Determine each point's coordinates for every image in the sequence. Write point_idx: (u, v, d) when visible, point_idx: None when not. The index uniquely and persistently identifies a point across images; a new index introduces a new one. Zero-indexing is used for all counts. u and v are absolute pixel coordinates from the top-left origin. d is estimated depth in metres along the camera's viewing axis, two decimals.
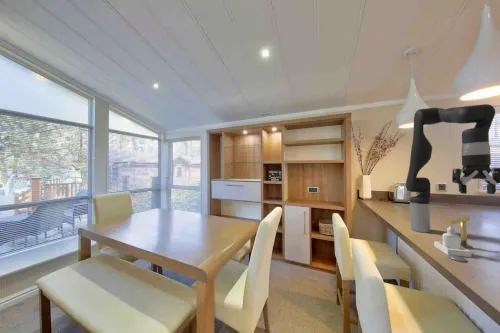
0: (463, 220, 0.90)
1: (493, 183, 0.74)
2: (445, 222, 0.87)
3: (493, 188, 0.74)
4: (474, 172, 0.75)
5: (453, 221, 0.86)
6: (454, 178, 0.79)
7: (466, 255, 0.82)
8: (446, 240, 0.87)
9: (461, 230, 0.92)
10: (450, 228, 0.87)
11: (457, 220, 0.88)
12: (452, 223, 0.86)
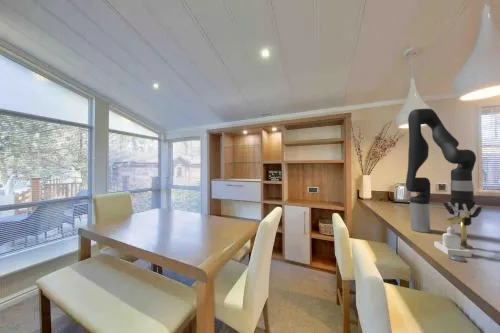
0: (463, 220, 0.90)
1: None
2: (445, 222, 0.87)
3: None
4: None
5: (453, 221, 0.86)
6: None
7: (466, 255, 0.82)
8: (446, 240, 0.87)
9: (461, 230, 0.92)
10: (450, 228, 0.87)
11: (457, 220, 0.88)
12: (452, 223, 0.86)
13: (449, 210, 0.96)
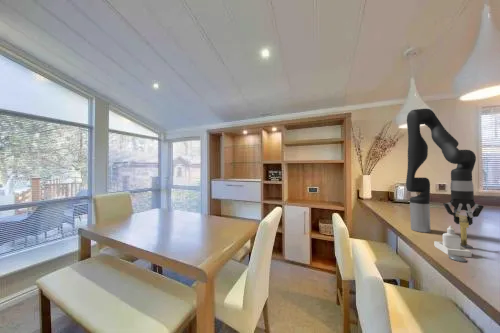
0: None
1: None
2: (461, 225, 0.83)
3: None
4: None
5: None
6: None
7: (466, 255, 0.82)
8: (446, 240, 0.87)
9: (462, 230, 0.92)
10: (450, 228, 0.87)
11: (467, 221, 0.85)
12: (468, 225, 0.82)
13: (450, 211, 0.94)
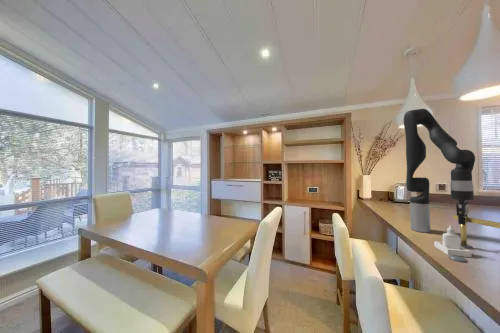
0: None
1: None
2: None
3: (458, 219, 0.91)
4: None
5: None
6: None
7: (466, 255, 0.82)
8: (446, 240, 0.87)
9: (465, 231, 0.91)
10: (450, 228, 0.87)
11: None
12: None
13: (464, 212, 0.88)
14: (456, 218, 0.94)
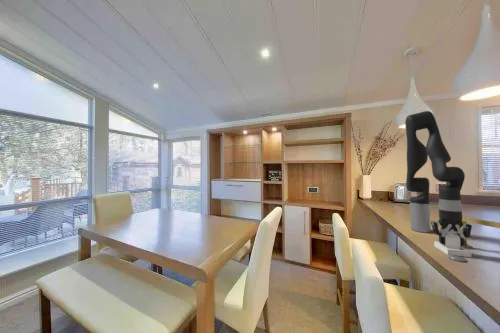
0: None
1: None
2: None
3: None
4: None
5: None
6: None
7: (466, 255, 0.82)
8: (446, 240, 0.87)
9: None
10: None
11: None
12: None
13: (437, 231, 0.88)
14: None
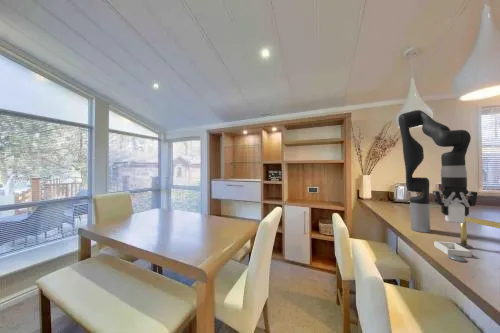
0: None
1: None
2: None
3: None
4: None
5: None
6: None
7: (466, 255, 0.82)
8: (449, 209, 0.80)
9: (465, 231, 0.91)
10: None
11: None
12: None
13: (439, 200, 0.81)
14: None
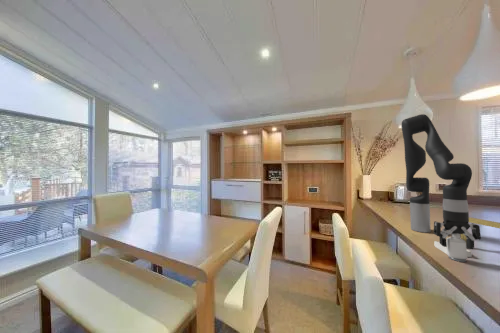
0: None
1: None
2: None
3: None
4: None
5: None
6: None
7: None
8: (450, 245, 0.80)
9: None
10: None
11: None
12: None
13: (438, 232, 0.81)
14: None
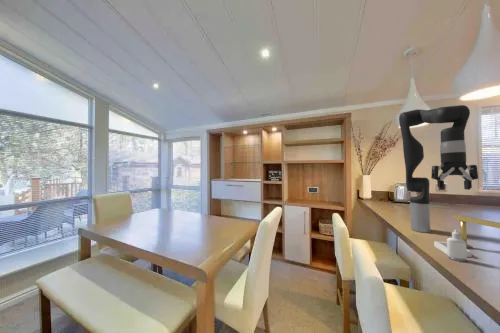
0: None
1: None
2: None
3: None
4: None
5: None
6: None
7: None
8: (451, 245, 0.80)
9: (465, 231, 0.91)
10: (455, 232, 0.80)
11: None
12: None
13: (436, 174, 0.82)
14: (456, 218, 0.94)
